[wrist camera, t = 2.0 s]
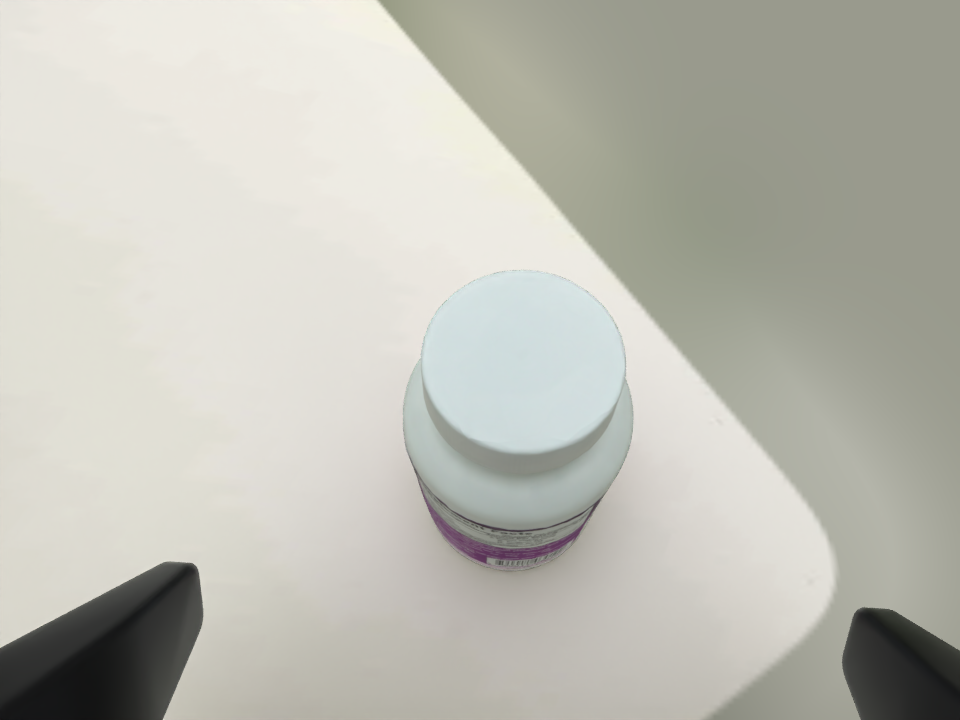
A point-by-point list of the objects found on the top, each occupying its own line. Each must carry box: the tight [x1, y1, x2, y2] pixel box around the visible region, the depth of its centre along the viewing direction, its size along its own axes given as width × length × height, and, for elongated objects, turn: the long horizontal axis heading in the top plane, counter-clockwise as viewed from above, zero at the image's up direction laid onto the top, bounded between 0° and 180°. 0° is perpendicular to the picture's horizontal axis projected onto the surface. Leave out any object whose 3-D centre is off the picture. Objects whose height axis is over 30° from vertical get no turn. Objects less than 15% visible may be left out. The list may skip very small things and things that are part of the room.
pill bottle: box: [403, 270, 633, 571], centre depth 17 cm, size 5×5×10 cm
